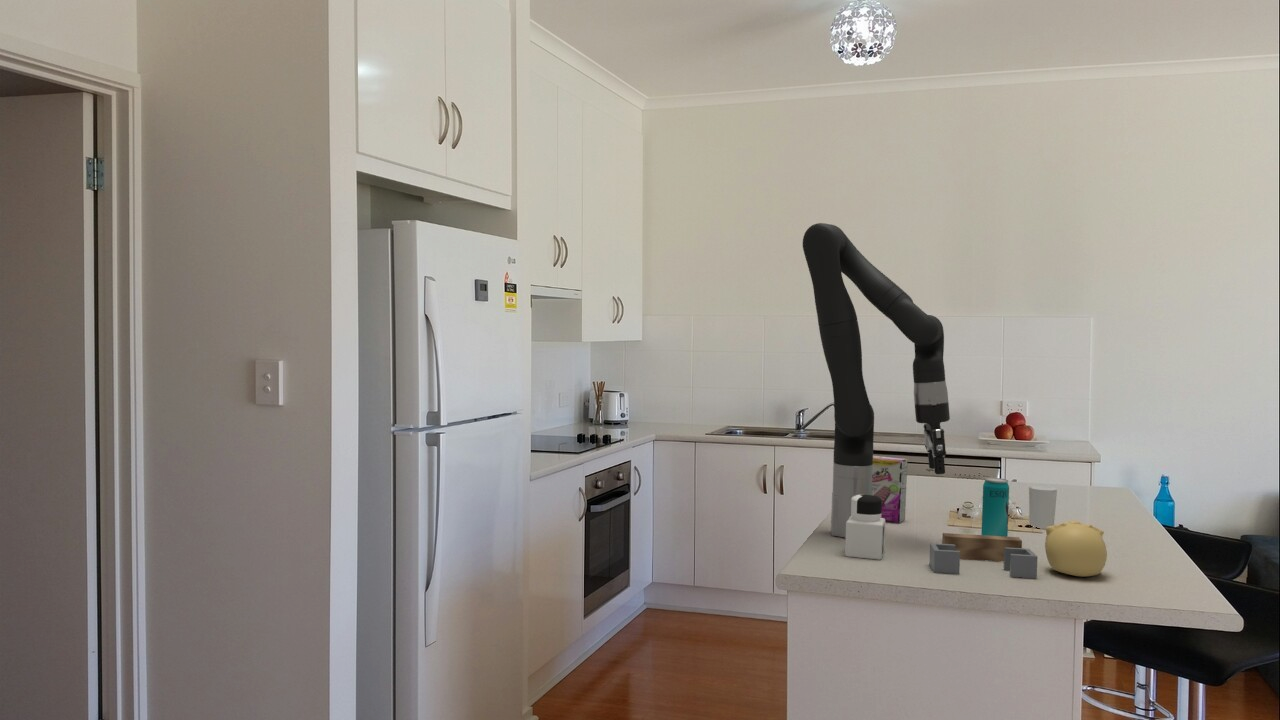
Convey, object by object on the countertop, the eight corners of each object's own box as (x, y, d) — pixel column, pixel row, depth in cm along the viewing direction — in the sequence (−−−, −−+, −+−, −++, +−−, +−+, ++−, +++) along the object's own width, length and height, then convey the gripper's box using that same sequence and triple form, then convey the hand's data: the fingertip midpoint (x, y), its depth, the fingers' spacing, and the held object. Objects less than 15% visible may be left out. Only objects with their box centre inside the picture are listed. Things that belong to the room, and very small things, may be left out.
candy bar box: (857, 518, 252) (859, 456, 251) (864, 515, 256) (866, 454, 255) (900, 524, 246) (902, 460, 245) (905, 521, 250) (908, 458, 249)
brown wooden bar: (944, 559, 210) (944, 536, 210) (941, 555, 214) (942, 532, 213) (1021, 563, 207) (1021, 540, 207) (1017, 559, 211) (1018, 537, 211)
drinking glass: (1056, 530, 242) (1058, 491, 242) (1028, 528, 244) (1029, 489, 244) (1054, 525, 248) (1055, 487, 248) (1026, 523, 251) (1028, 485, 250)
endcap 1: (933, 572, 197) (934, 550, 197) (929, 564, 204) (930, 543, 204) (959, 573, 196) (960, 552, 196) (953, 565, 203) (954, 544, 203)
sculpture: (1097, 568, 203) (1099, 518, 203) (1112, 583, 192) (1114, 529, 191) (1040, 564, 206) (1041, 514, 206) (1050, 578, 194) (1052, 525, 194)
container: (884, 552, 214) (886, 494, 213) (881, 560, 207) (883, 500, 206) (849, 549, 216) (850, 491, 216) (844, 556, 209) (846, 497, 209)
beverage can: (1009, 546, 223) (1011, 482, 222) (983, 544, 224) (985, 480, 223) (1004, 541, 228) (1007, 478, 228) (979, 539, 230) (981, 477, 229)
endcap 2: (1028, 570, 201) (1029, 548, 201) (1036, 578, 194) (1037, 556, 194) (1003, 568, 202) (1004, 547, 201) (1010, 577, 195) (1011, 555, 195)
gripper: (910, 400, 229) (916, 467, 230) (918, 405, 215) (924, 477, 216) (943, 397, 228) (948, 465, 229) (953, 402, 214) (959, 474, 215)
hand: (937, 471), depth 222 cm, fingers open, 8 cm apart
